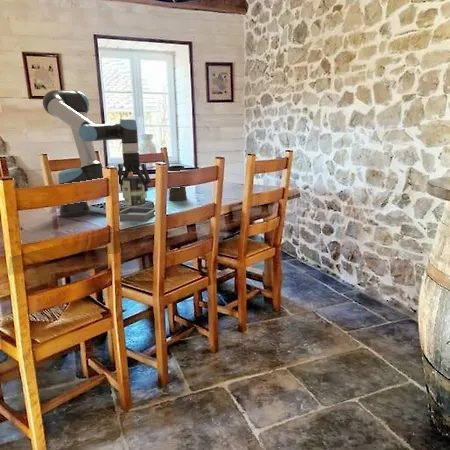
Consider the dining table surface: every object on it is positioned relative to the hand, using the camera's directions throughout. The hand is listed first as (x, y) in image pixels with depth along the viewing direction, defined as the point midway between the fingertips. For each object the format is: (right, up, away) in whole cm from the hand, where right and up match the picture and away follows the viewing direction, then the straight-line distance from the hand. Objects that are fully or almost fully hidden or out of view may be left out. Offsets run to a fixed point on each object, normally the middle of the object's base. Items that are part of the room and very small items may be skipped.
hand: (134, 197), depth 193 cm
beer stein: (+16, +2, +45) cm, 48 cm away
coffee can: (0, -4, +1) cm, 4 cm away
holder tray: (0, -9, +2) cm, 10 cm away
